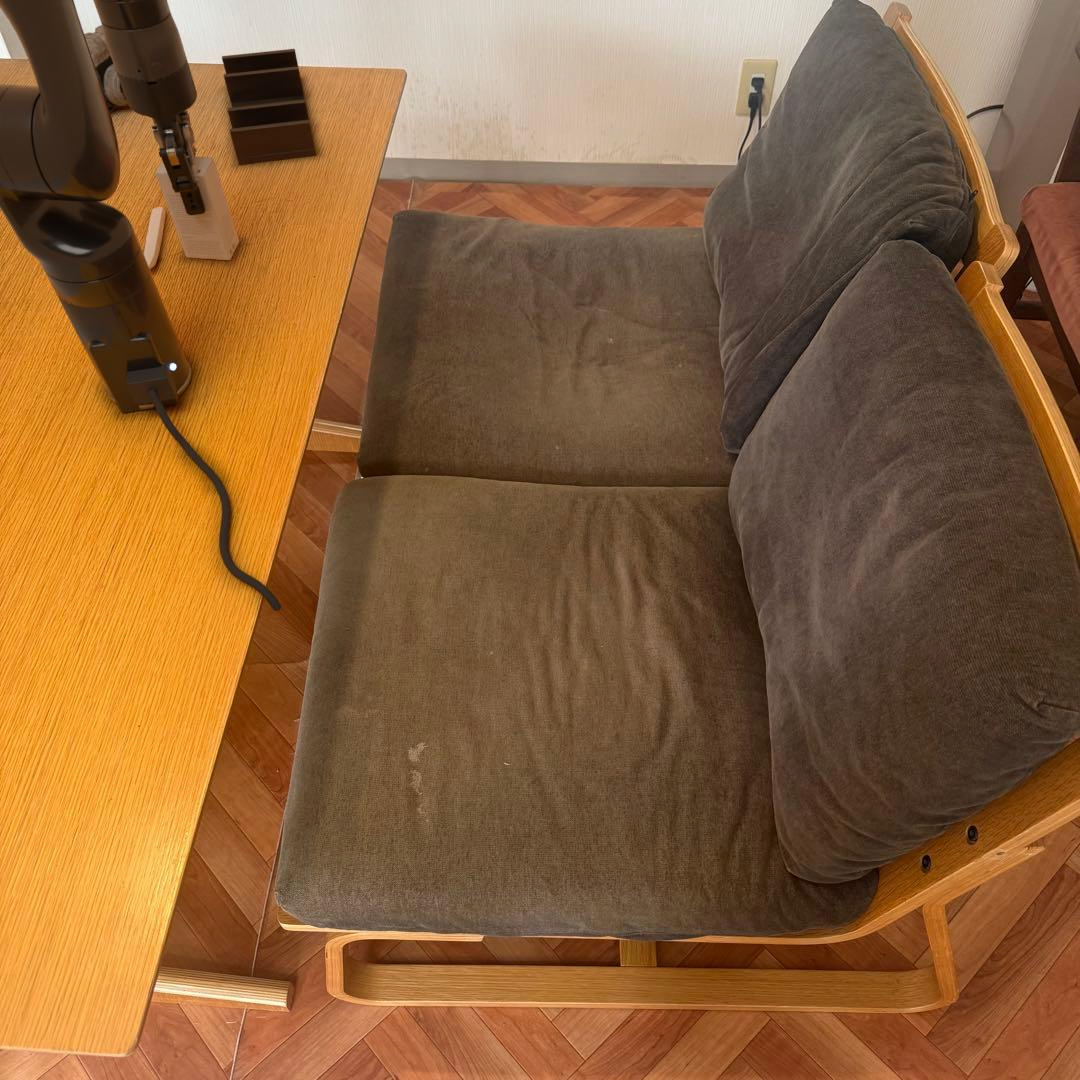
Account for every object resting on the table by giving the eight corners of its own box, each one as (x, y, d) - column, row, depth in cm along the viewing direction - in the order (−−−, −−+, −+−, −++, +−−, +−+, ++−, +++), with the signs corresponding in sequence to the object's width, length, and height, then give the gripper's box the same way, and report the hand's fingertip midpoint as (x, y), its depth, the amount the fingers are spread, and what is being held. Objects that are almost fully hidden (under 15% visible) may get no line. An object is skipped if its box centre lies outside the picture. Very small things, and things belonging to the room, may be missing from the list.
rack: (316, 155, 129) (309, 122, 125) (238, 165, 128) (229, 131, 123) (301, 80, 142) (294, 48, 138) (230, 88, 140) (221, 55, 136)
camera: (104, 136, 131) (77, 67, 123) (64, 128, 132) (35, 59, 124) (159, 88, 139) (137, 20, 131) (121, 80, 141) (97, 13, 132)
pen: (144, 278, 112) (139, 267, 111) (156, 212, 121) (152, 201, 119) (157, 277, 113) (152, 266, 111) (168, 211, 121) (164, 200, 119)
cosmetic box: (240, 241, 117) (215, 156, 107) (230, 261, 115) (203, 176, 105) (195, 238, 117) (166, 153, 108) (184, 258, 115) (153, 172, 105)
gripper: (114, 31, 100) (163, 171, 114) (112, 96, 92) (165, 238, 105) (183, 24, 101) (224, 163, 115) (187, 88, 93) (230, 229, 107)
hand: (195, 198), depth 110 cm, fingers closed on cosmetic box, 5 cm apart
